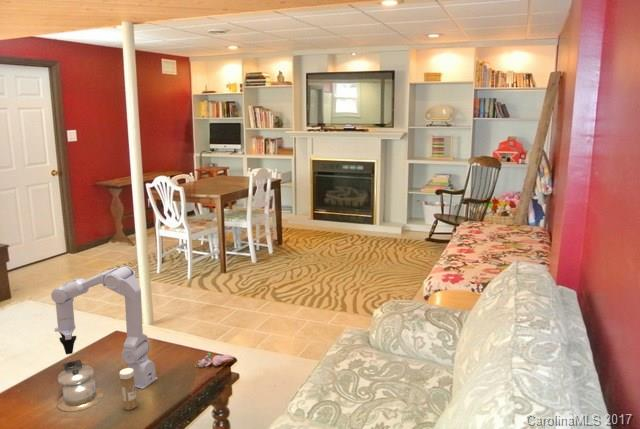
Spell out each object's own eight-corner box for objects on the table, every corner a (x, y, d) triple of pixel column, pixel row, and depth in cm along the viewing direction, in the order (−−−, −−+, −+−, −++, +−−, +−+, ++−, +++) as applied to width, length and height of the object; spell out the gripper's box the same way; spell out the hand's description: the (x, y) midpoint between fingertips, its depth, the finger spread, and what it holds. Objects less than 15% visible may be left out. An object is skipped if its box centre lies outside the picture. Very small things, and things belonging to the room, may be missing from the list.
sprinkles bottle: (136, 409, 171) (132, 373, 168) (122, 411, 170) (118, 375, 167) (138, 401, 176) (134, 366, 173) (124, 403, 175) (120, 368, 172)
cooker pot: (107, 401, 176) (105, 387, 175) (60, 417, 168) (57, 402, 167) (99, 383, 188) (97, 369, 187) (54, 396, 180) (52, 382, 179)
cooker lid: (96, 379, 180) (95, 372, 180) (60, 389, 174) (59, 383, 173) (88, 362, 193) (88, 356, 192) (55, 371, 186) (54, 365, 186)
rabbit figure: (195, 373, 196) (233, 365, 197) (191, 360, 195) (229, 352, 195) (198, 365, 202) (234, 357, 203) (194, 352, 201) (231, 344, 202)
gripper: (52, 311, 194) (55, 343, 197) (54, 325, 182) (57, 360, 185) (72, 307, 197) (75, 339, 200) (76, 322, 185) (79, 355, 188)
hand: (68, 349), depth 193 cm, fingers open, 7 cm apart
